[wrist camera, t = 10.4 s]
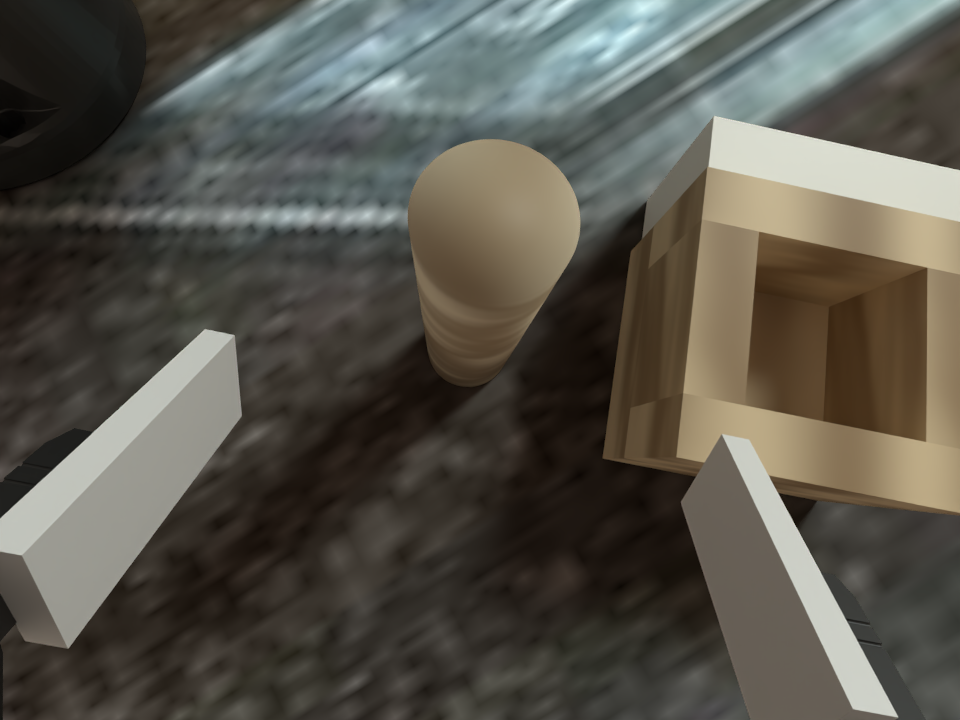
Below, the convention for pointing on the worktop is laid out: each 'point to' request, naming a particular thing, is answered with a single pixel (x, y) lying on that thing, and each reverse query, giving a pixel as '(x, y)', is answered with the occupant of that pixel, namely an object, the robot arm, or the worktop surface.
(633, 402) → the block
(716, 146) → the backstop
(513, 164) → the dowel
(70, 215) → the worktop surface
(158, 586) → the worktop surface
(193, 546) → the worktop surface
